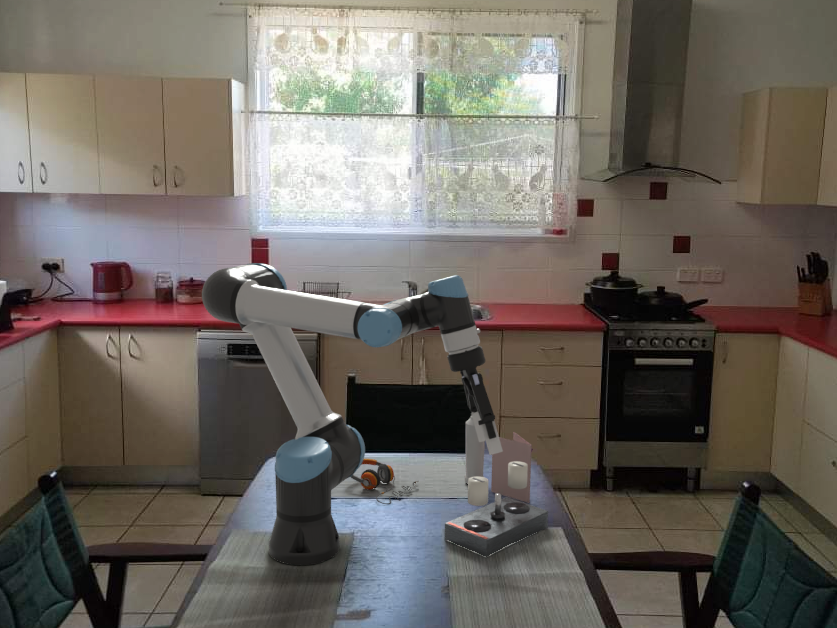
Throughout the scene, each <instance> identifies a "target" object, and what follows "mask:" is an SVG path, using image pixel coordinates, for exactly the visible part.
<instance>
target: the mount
mask: <svg viewBox="0 0 837 628" xmlns="http://www.w3.org/2000/svg"><path fill="white" fill-rule="evenodd" d="M492 511H495V501H494V502H491V503H488V504H486V505H483V506H481V507H479V508H476V509H475V510H472V511H470V512H468V513H465V514H463V515H460V516H459V517H458V516H457V517H456V518H454V519H452V520H449V521H447V522H445V523H444V541H445V540H449V541H451V542H453V543H455V544H457V545H460V546H462V547H465V548H467V549H469V550H472V551H475V552H477V553H479V554H481V555H483V556H486V557H487V556H489V555H490V554H492V553H494V552H496V551H498V550H500V549H502V548H503V547H505V546H507V545H509V544H511V543H514V542H517V541H519V540H521V539H523V538H525V537H527V536H529V537H531V536H533V535H535V534H537V533H539V532H541V531H544V530H545V529H548V525H549V524H548V521H549V520H548V519H549V510H546V509H544V508H540V507H538V506H534V505H531V504H530V503H528V502H524V501H521V500H517V499H514V498H511V497H507V496H504V497H503V498H501V512H504V513H505V518H504V519H502V520H494V519H492V518H491V517H490V513H491V512H492ZM536 532H537V533H536ZM534 533H535V534H534ZM532 534H533V535H532ZM530 535H531V536H530ZM527 538H528V537H527ZM525 539H526V538H525ZM523 540H524V539H523ZM521 541H522V540H521ZM519 542H520V541H519ZM517 543H518V542H517ZM457 545H456V546H457ZM489 557H490V556H489ZM487 558H488V557H487Z"/></svg>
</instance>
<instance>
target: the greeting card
mask: <svg viewBox="0 0 837 628" xmlns="http://www.w3.org/2000/svg"><path fill="white" fill-rule="evenodd" d="M499 439H500V443H501V447H502V450H503V452H499V453H496V454H493V455H491V488H490V489H491V491H490V492H491V493H494V494H496V493H500V494H501V496H504V497H510V498H512V499H515V500H518V501H521V502H524V503H527V504H530V502H531V472H532V452H533V448H532V444H531V443H530V442H528V441H527V440H526V439H524V438H523V437H522V436H520V435H519V434H518V433H516V432H515V431H513V434H512V439H508V438H504V437H500V436H499ZM514 461H519V462H524V463H526V464H527V465H528V470H527V487H526V488H523V489H514V488H510V487H509V486H508V464H509V463H510V462H514Z"/></svg>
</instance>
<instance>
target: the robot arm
mask: <svg viewBox="0 0 837 628" xmlns="http://www.w3.org/2000/svg"><path fill="white" fill-rule="evenodd" d="M427 288H428V289H427V292H424V293H421V294H417V295H413V296H409V297H405V298H401V299H400V298H399V299H394V300H392V301H389V302H387V303H384V304H375V303H370V302H364V301H357V300H349V299H345V298H338V297H332V296H326V295H325V296H324V295H318V294H313V293H312V294H311V293H306V292H300V291H295V290H294V291H293V290H288V287H287V284H286V280H285V278H284V276H283V275H282V274H281V272H280V271H279V270H277V268H275V267H273V265H269V264H266V263H257V262H255V263H254V262H252V263H247V264H243V265H238V266H234V267H233V266H232V267H225V268H221V269H218V270H216V271H214V272H213V273H212V274H210V275H209V276H208V277H207V279H206V280H205V282H204V284H203V287H202V290H201V298H202V299H201V300H202V304H203V306H204V308H205V309H206V311H207V312H208V314H209V315H211V317H213V318H215V319H217V320H219V321H222V322H226V323H232V324H233V323H234V324H239V326H240V328H241V330H242V332H244V333H247V334H250V335H252V338H253V340H254V341H255V344H256V345H257V348H258V349H259V352H260V354H261V356H262V358H263V361H264V362H265V365H267V368H268V370H269V372H270V374H271V376H272V377H271V378H273V380H274V383H275V384H276V385H275V386H276V387H277V389H278V391H279V392H280V395H281V397H282V399H283V401H284V403H285V405H286V407H287V409H288V411H289V414H290V415H291V417H292V420H293V421H294V424H295V426H296V427H297V431H296V435H295V437H294V438H292V439H290V440H288V441H285V442H284V443H283V444H281V446H280V447H279V448H278V449H277V450H276V454H275V462H274V472H275V503H276V504H275V505H276V508H275V509H276V512H275V513H276V516H275V517H276V518H275V520H274V524H273V527H272V531H271V535H270V537H269V539H268V554H269V553H270V554H269V556H270V555H271V556H272V557H273V558H275V559H276V560H275V559H274V560H275V561H277V560H278V561H277V562H279V561H281V562H284V563H283V564H285V563H288V564H287V565H291V564H295V565H294V566H308V565H309V564H310V565H315V563H316V564H321V563H323V562H326V561H329V560H331V559H333V558H334V557H335V556H336V555H337V554H338V553H339V552H338V551H340V549H339V548H341V547H340V546H341V545H340V541H341V540H340V539H341V538H340V536H339V533H338V529H337V526H336V524H335V521H334V518H333V515H332V491H333V489H335V488H336V487H338V486H339V485H340V484H342V482H344V481H345V480H346V479H349V478H351V476H352V475H353V474H354V475H355V473H356V472H357V471H358V469H359V468H360V467H362V465H363V464H362V462H363V459H365V456H366V446H365V442H364V438H363V437H362V435H361V433H360V432H359V431H358V430H357V429H356V428H355V427H352V426H351V425H349V424H346V421H345V420H344V418H343V416H342V415H341V414H339V413H336V412H334V411H333V410H332V409H331V407H330V404H329V403H328V401H327V399H326V397H325V395H324V392H323V391H322V389H321V387H320V385H319V383H318V380H317V379H316V377H315V374H314V371H312V368H311V366H310V364H309V362H308V359H307V358H306V356H305V354H304V352H303V350H302V348H301V346H300V343H299V342H298V339H297V337H296V335H295V334H294V332H293V330H292V329H297V330H302V331H308V332H313V333H320V334H326V335H330V336H336V337H337V336H338V337H343V338H349V339H354V340H360V341H362V342H363V343H364V344H366V345H367V346H369V347H371V348H381V347H388V346H391V345H392V344H393V343H395V342H397V341H398V340H400V339H403V338H405V337H408V336H409V335H411V334H414V333H417V332H421V331H424V330H429V329H433V328H437V327H438V328H439V332H440V337H441V340H442V344H443V347H444V351H445V353H448V355H447V361H448V365H449V368H450V370H451V372H454V373H459V372H460V375H461V378H460V379H461V382H462V385H463V389H464V392H465V396H466V401H467V402H466V403H467V407H468V408H469V411H470V412H471V413H470V416H472V418H473V422H474V426H475V429H476V433H477V436H478V440H479V442H483V441H485V443H486V447H487V448H486V449H487V451H488V454H489V456H492V455H493V454H496V453H499V452H503V450H502V447H501V443H500V439H499V437H500V435H499V433H498V429H497V425H496V421H495V420H496V415H495V414H494V411H493V408H492V405H491V401H490V397H489V396H488V394H487V393H488V392H487V389H486V387H485V385H484V378H483V375H482V374H481V372H478V370H477V367H480V366H482V365H484V364H485V363H486V358H485V353H484V349H483V346H481V345H480V343H481V340H480V335H478V334H480V333H481V329H480V328H477V325H476V321H475V318H474V314H473V309H472V306H471V305H472V304H471V302H470V298H469V292H468V291H467V289H466V285H465V283H464V280H463V277H461V276H460V275H458V274H454V275H451V276H448V277H444V278H440V279H435V280H432V281H429V282H428V284H427ZM472 412H473V413H472ZM361 464H362V465H361ZM271 556H270V557H271ZM272 557H271V558H272ZM273 558H272V559H273ZM325 560H326V561H325ZM281 562H280V563H281ZM310 565H309V566H310Z"/></svg>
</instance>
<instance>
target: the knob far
mask: <svg viewBox="0 0 837 628" xmlns="http://www.w3.org/2000/svg"><path fill="white" fill-rule="evenodd" d="M527 470H528V465H527V464H526V463H524V462H519V461H514V462H510V463H509V464H508V486H509V487H510V488H514V489H523V488H526V487H527Z"/></svg>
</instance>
